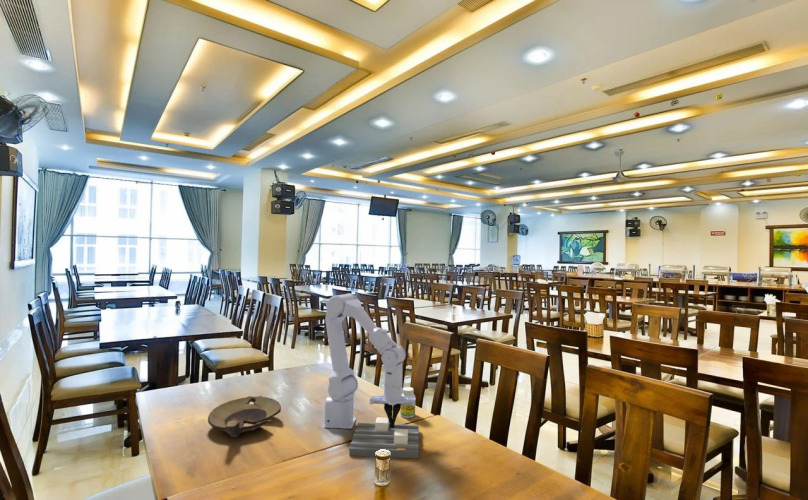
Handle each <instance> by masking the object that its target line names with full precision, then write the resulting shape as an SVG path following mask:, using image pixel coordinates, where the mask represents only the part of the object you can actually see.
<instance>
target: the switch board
mask: <svg viewBox="0 0 808 500" xmlns="http://www.w3.org/2000/svg"><path fill="white" fill-rule="evenodd" d="M356 426H357V427H356V429H354V433H353V435H352V440H351V442H350V446H349V448H348V449H349V453H348V455H349V456H352V457H355V456H357V457H373V458H375V452H376V451H378V450H380V449H386V450H389V451H390V452H391V457H390V458H401V459H419V452H420V451H419V446H420V445H419V440H420V437H419V434H420V432H419V430H420V429H419V428H420V425H419V424H401V423H399V424H398V423H395V424H394V428H390V424H389V428H388V431H375V422H357V425H356ZM395 429H404V430H408V444H394V432H395Z"/></svg>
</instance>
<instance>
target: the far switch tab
mask: <svg viewBox="0 0 808 500" xmlns="http://www.w3.org/2000/svg"><path fill="white" fill-rule="evenodd" d="M374 423H375V431H388V428H389V420H388V417H385V416H384V417H379V416H377V417H376V419H375V422H374Z"/></svg>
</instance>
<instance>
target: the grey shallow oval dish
mask: <svg viewBox="0 0 808 500" xmlns="http://www.w3.org/2000/svg"><path fill="white" fill-rule="evenodd" d="M251 402H252V403H251ZM281 406H282V405H281V404H280V402H279V401H277V399H273V398H271V397H270V398H269V397H265V396H262V395H257V396H251V395H250V396H246V397H241V398H237V399H233V400H229V401H226V402H223V403H222V404H220V405H218V406H216V407H214V409H212V411H210V413H209V415H208V416H207V423H208V424H209V426H211V427H212V428H214V429H216V430H218V431H221V432H222V431H223V432H226V433H227V434H228V435H229V436H230V437H232V438H236V437H238V436H240V434H242V433H245V432H249V431H252V430H255V429H258V428H260V427H263V426H265V425H266V424H267V425H268V423H270V422H272V419H271V418H273V417H274V416H277V415H278V414H279V413H281V411H282V407H281ZM244 423H251V424H252V425H248V426H246V425H244Z"/></svg>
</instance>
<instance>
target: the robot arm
mask: <svg viewBox="0 0 808 500" xmlns="http://www.w3.org/2000/svg"><path fill="white" fill-rule="evenodd" d="M325 308H326V314H325V317H324V318H325V327H326V333H327V339H328V347H329V354H330V361H331V367H332V370H331V371H332V372H331V373H330V375H329V377H328V386H327V387H328V388H327V393H328V395H329V396H327V397H326V399H325V405H324V424H323V427H324V428H325V429H326V428H327V429H350V430H351V429H353V427H354V425H355V422H356V419H357V418H356V417H354V405H355V404H354V403H355V402H354V401H355V400H354V399H355V397H354V396H355V392H356V391H357V390H358V388H359V382H358V379H357V378H356V374H355V371H354V369H352V368H351V367H349V360H348V359H349V358H348V353H347V345H346V340H345V334H344V327H343V321H344V320H345V319H346V317H350V318H353V319H354V320H355V321H356V322H357V323H358V324H359V325H360V326H361V327H362V329H364V330H365V332H366V333H367V334H368V340H369V343H371V344H372V345H373V346H374V348H375V349H376V350H377V351H378V353H379V354H380V355H381V356H380V359H381V362H382V364H383V367H384V377H383V379H384V380H383V382H384V383H383V387H384V388H383V395H371V396H370V397H369V405H374V404H377V405H383V409H384V413H385V414H386V416H387V417H386V418H388V420H389V424H390V428H394V424H396V421H397V417H398V414H399V412H400V411H401V410H400V409H401V405H412V406H415V407H416V397H415V398H411V397H405V396H402V394H403V392H402V391H403V362H404V361H405V359H406V356H407V352H406V350H405V348H404V347H403V345H401V344H398V343H396V342H395V341H394V340H393V339H392V338H391V337H390V335H389V334H387V333H388V331H387V330H386V329H383V327H378V326H376V324H375V323H374V321H373V320H372V319H371V317H370V316H369V314H368V313H367V312H366V310H365V309H364V308H363V306H362V303H361V301H360V299H358V298H357V296H356V295H355V294H354V293H350V292H347V293H346V294H345V293H344V294H339V295H335V294H334V295H332V296H331V297H330V298H329V299H328V300H327V301H326V303H325Z"/></svg>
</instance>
